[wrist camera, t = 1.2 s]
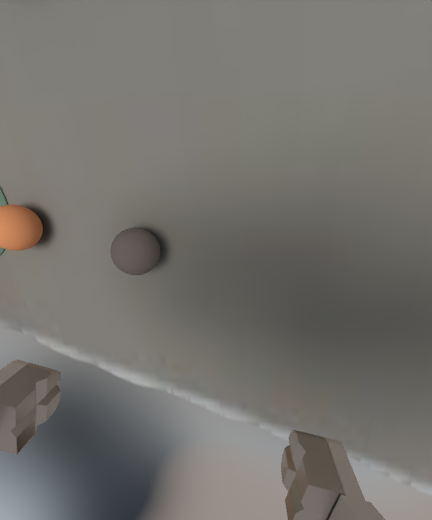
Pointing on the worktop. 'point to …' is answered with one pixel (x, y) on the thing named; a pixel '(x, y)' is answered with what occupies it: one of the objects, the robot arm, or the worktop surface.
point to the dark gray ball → (135, 251)
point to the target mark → (1, 201)
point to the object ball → (19, 227)
